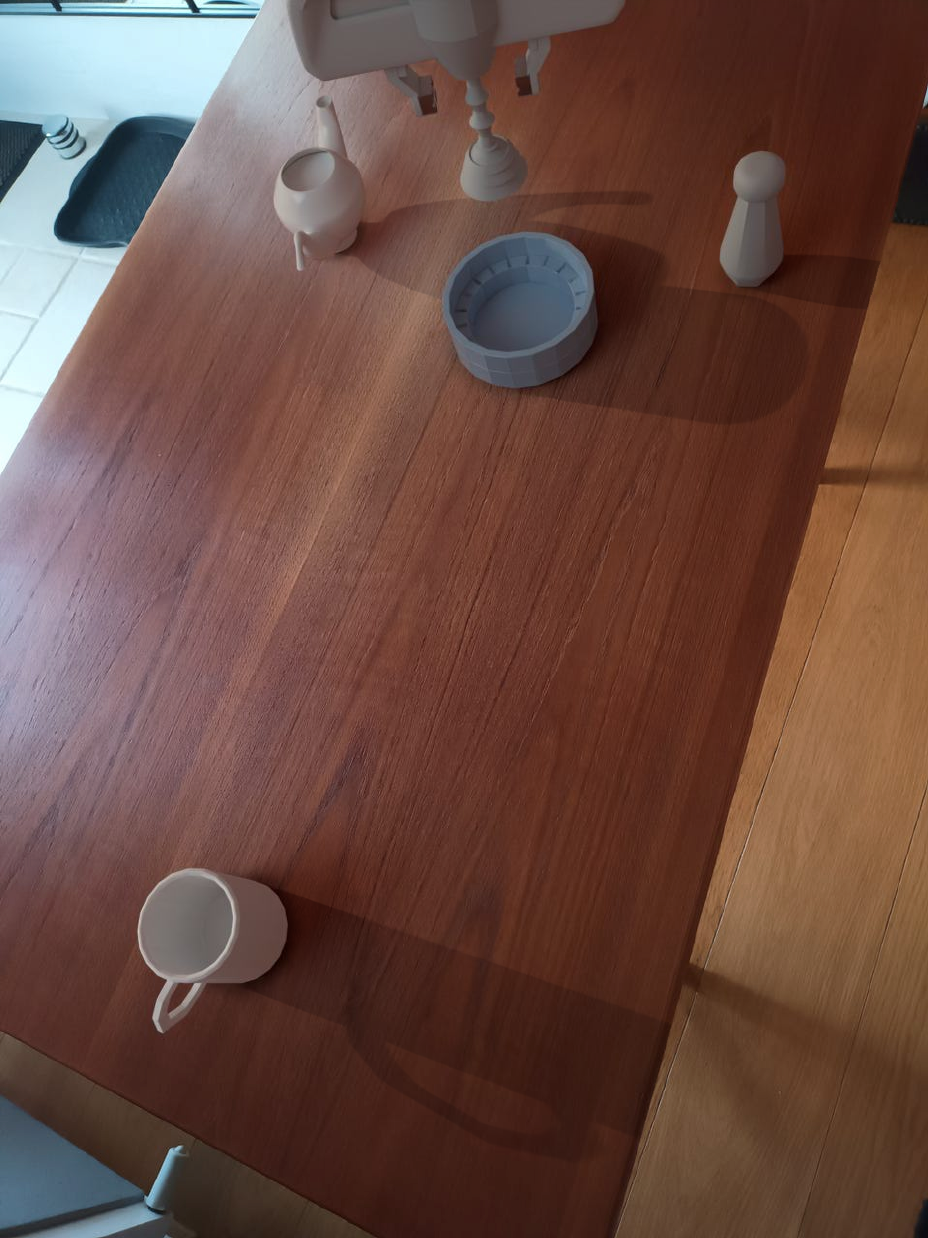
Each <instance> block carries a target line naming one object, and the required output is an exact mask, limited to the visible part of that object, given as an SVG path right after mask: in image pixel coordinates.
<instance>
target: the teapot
mask: <svg viewBox="0 0 928 1238" xmlns="http://www.w3.org/2000/svg"><path fill="white" fill-rule="evenodd" d="M334 104H335V103H334V101H333V99H332V97H331V96H329V95H322V96H320V97H319V98H317V99H316V101H315V109H316V121H317V131H318V134H317V135H318V140H317V141H318V143H317V144H318V145H317V146H313V147H307V148H304V149H301V150H299V151H297V152H295V153H293V154H292V155H291V156H289V157H288V158H287V160H286V161H284V163H283V164H282V165H281V168H280V169H279V172H278V174H277V177H276V180H275V185H274V190H273V198H272V199H273V200H272V201H273V207H274V211H275V213H276V215H277V217H278V219H279V222H281V224H282V225H283V227H284V228H285V229H286V230H287V231H288V232H289V233H291V234H292V235H293V244H294V248H295V255H296V256H295V257H296V259H295V260H296V269H297V270H298V271H299V272H301V271H304V270H305V269H306V267H307V261H306V259H305V256H306V257H307V258H309V259H311V260H312V261H315V262H317V261H318V262H323V261H326V260H328V259H330V258H332V257H333V256H334V255H335V254H337V253H340V252H343V251H345V250H347V249H348V248H350V247H351V246H352V245H353V244H354V242H355V241H356V239H357V237H358V236H357V235H358V226H359V225H360V222H361V220H362V218H363V216H364V212H365V207H366V188H365V183H364V179H363V177H362V174H361V172H360V170H359V168H358V167H357V166H356V165H355V163H354V162H353V161H351V160H350V159H349V157H348V151H347V148H346V144H345V140H344V136H343V132H342V129H341V125H340V122H339V119H338V115H337V112H336V108H335V105H334Z"/></svg>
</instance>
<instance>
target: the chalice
mask: <svg viewBox="0 0 928 1238" xmlns="http://www.w3.org/2000/svg"><path fill="white" fill-rule="evenodd" d="M408 1H409V3H410V4H411V5H412V9H413V12H414V16H415V20H416V23H417V27H418V31H419V34H420V37H421V38H422V39H423V40H424V41H425V42H426V44H427V45H428V46H429V47H430V48H431V49H432V50H433V51H434V53H435V54H436V56H437V57H438V59H435V61H436V62H437V63H438V64H440V66H441V67H442V68H443V69H444V70H445V71H446V72H447V73H448V74H449V75H450V76H451V77H452V78H453V79H455V80H458V81H463V82H466V94H465V96H464V102H465V103H466V104H467V105H469V106H470V108H471V109H472V115H470V117H469V120H468V125H469V126H470V127H471V128H472V129H474V130H475V131H476V132H477V135H478V138H477V139H475V140H474V141H473V142H472V143H471V144H470V146H468V148H467V149H466V152H465V155H464V161H463V163H462V170H461V172H460V179H459V183H460V186H461V189H462V191H463V192H464V193H465V194H466V196H467V197H469V198H471V199H473V200H475V201H479V202H486V203H489V202H498V201H500V200H503V199H506V198H509V197H510V196H512V195H514V194H515V193H517V192H518V191H519V189H520V188H521V187H522V186H523V185H524V184H525V182H526V179H527V178H528V174H529V173H528V172H529V166H528V163H527V161H526V159H525V157H524V156H522V155H521V153H520V151H519V150H518V149H517V148H516V146H515V145H514V143H513V142H512V141H510V139H509V138H506V137H504V136H502V135H500V134H497V133H496V134H495V133H492V125H493V124H494V122H495V121H496V116H495V114H494V113H493V111H490V110H489V109H488V108H487V102H488V100H489V98H490V92H489V90H487V89H486V88H485V87H484V85H483V83H482V81H481V77H483V76H484V75H486V74H487V72H489V71H490V70H491V67H492V65H493V62H494V60H495V55H496V52H497V50H498V47H499V46H497V47H492V43H493V38H494V34H495V31H496V27H497V24H498V20H499V18H498V12H497V5H496V0H408Z"/></svg>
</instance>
